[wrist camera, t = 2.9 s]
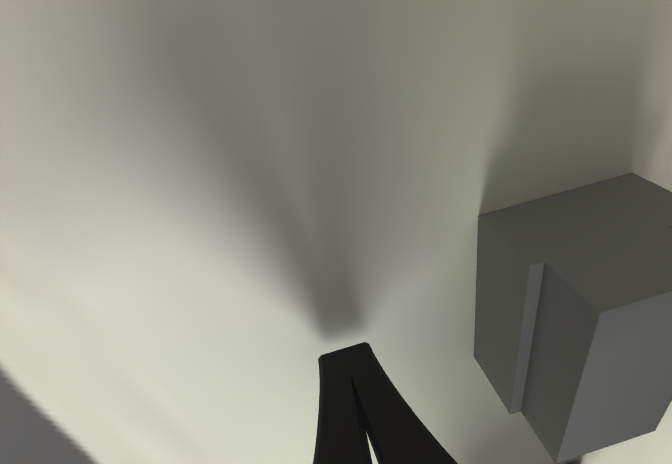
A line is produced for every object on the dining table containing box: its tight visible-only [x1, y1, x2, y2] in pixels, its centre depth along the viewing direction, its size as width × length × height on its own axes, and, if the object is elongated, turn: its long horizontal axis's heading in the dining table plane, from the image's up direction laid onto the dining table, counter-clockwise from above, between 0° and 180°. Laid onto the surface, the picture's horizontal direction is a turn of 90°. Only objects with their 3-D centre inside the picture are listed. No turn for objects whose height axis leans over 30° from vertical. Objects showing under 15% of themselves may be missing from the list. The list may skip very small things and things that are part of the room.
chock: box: [474, 173, 672, 464], centre depth 11 cm, size 6×4×4 cm
